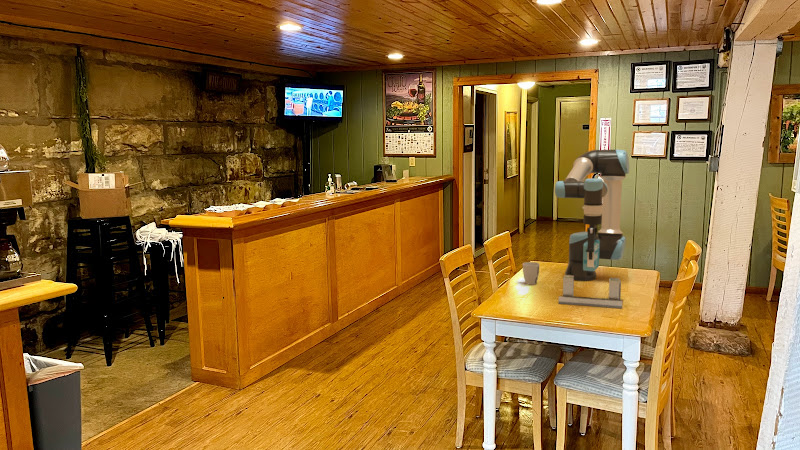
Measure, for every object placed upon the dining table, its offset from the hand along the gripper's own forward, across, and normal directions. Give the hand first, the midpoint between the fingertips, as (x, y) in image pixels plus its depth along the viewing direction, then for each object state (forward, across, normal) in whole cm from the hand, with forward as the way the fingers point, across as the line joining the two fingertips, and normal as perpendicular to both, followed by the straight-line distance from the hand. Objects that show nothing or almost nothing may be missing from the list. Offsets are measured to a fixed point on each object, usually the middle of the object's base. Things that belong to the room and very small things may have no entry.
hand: (591, 263), depth 261 cm
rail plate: (+17, +1, 0) cm, 17 cm away
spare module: (+17, -7, +10) cm, 21 cm away
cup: (+17, -25, -30) cm, 43 cm away
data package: (+2, 0, 0) cm, 2 cm away
